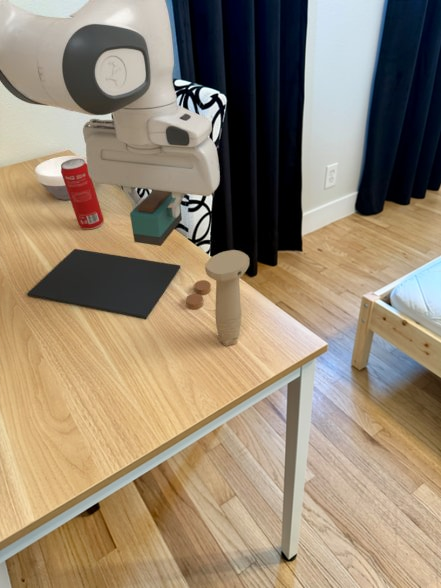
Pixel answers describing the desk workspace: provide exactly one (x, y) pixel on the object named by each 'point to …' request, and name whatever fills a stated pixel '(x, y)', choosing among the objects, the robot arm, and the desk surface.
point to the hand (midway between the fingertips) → (157, 213)
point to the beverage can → (82, 193)
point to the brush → (154, 219)
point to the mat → (107, 282)
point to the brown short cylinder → (194, 301)
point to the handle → (227, 292)
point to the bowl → (54, 176)
